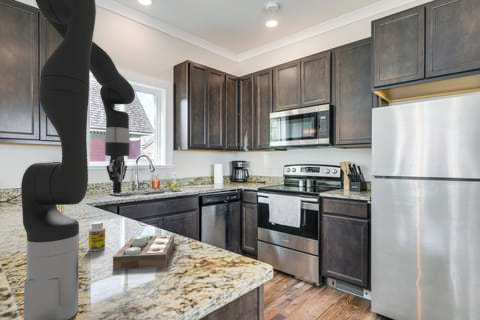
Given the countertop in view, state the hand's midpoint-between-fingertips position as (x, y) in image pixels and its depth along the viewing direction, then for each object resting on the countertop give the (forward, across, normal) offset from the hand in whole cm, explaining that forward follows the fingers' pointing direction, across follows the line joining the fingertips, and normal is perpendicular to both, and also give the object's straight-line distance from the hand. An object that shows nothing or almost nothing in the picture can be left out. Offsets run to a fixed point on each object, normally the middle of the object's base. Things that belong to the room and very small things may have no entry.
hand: (117, 193), depth 89 cm
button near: (+22, -3, -6) cm, 23 cm away
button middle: (+21, +5, -6) cm, 22 cm away
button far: (+22, +12, -6) cm, 26 cm away
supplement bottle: (+23, +14, +12) cm, 30 cm away
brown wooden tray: (+23, +5, -9) cm, 25 cm away
